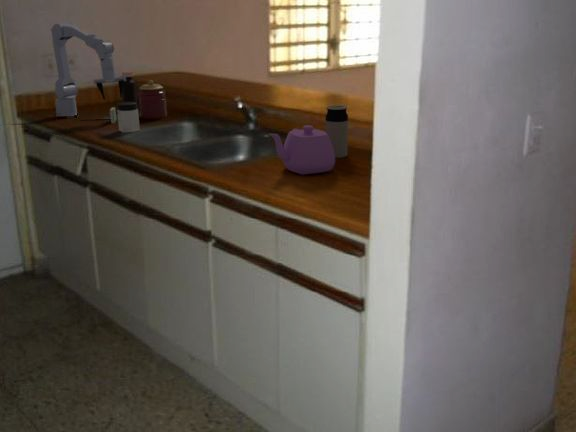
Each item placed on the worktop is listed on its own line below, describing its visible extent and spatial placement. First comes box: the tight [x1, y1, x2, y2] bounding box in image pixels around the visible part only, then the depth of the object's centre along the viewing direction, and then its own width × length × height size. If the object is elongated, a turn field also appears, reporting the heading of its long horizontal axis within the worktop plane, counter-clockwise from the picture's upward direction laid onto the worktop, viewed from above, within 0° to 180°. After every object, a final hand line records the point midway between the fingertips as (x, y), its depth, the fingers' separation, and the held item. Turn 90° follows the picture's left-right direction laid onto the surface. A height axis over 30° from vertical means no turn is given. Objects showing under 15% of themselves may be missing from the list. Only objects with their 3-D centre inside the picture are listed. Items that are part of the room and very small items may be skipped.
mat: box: [101, 114, 118, 120], centre depth 328 cm, size 18×14×1 cm
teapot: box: [268, 124, 336, 176], centre depth 227 cm, size 23×21×15 cm
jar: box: [116, 101, 141, 134], centre depth 294 cm, size 9×8×12 cm
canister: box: [137, 79, 168, 120], centre depth 324 cm, size 13×13×18 cm
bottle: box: [121, 71, 138, 104], centre depth 336 cm, size 7×7×20 cm
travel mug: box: [325, 104, 349, 159], centre depth 245 cm, size 8×8×18 cm
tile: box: [109, 106, 117, 124], centre depth 316 cm, size 2×8×6 cm, turn 8°
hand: (112, 98), depth 315 cm, fingers open, 7 cm apart
